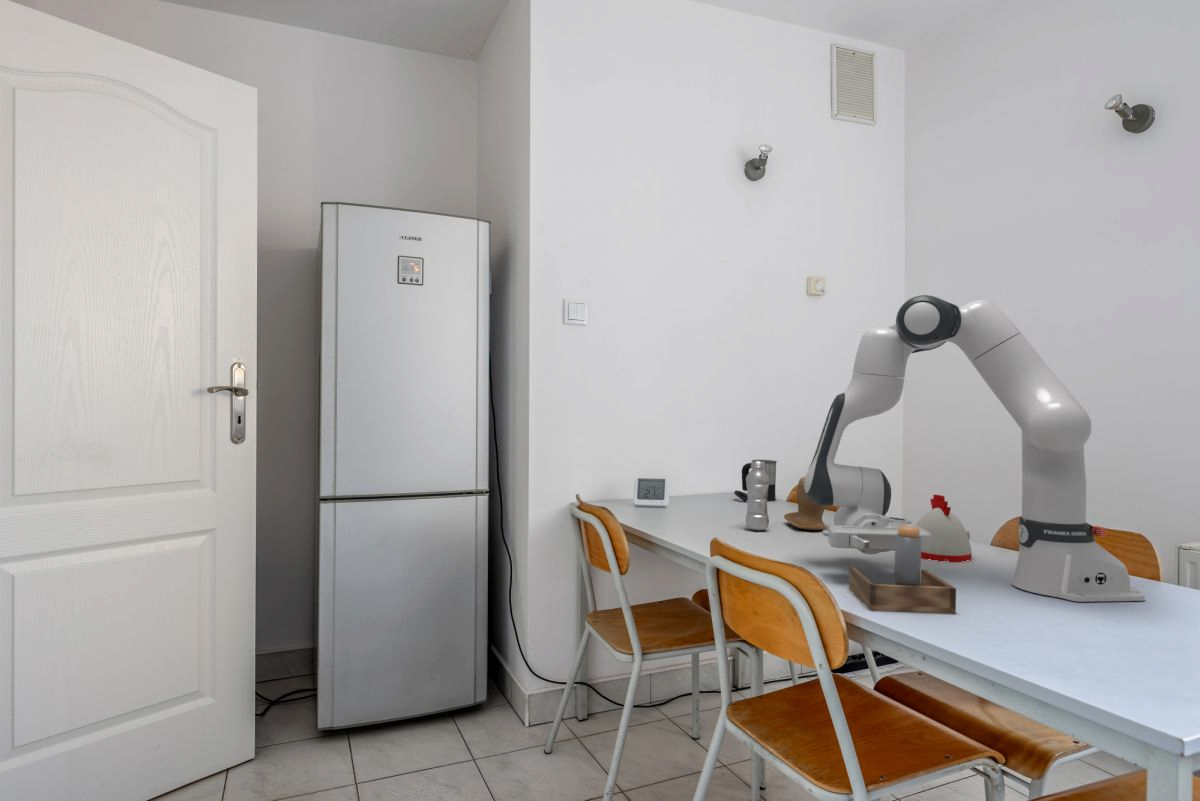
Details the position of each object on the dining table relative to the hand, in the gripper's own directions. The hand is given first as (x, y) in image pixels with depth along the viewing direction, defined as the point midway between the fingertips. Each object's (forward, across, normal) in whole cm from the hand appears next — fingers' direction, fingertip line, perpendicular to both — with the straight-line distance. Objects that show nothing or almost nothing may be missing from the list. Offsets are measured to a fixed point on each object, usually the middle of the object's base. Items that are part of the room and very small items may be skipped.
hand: (889, 546), depth 139 cm
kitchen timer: (-36, +24, +9) cm, 44 cm away
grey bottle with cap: (+9, 0, +8) cm, 12 cm away
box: (+6, 0, +9) cm, 11 cm away
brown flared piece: (-69, -1, +10) cm, 70 cm away
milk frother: (-124, -9, +10) cm, 124 cm away
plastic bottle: (-62, -17, +10) cm, 65 cm away
